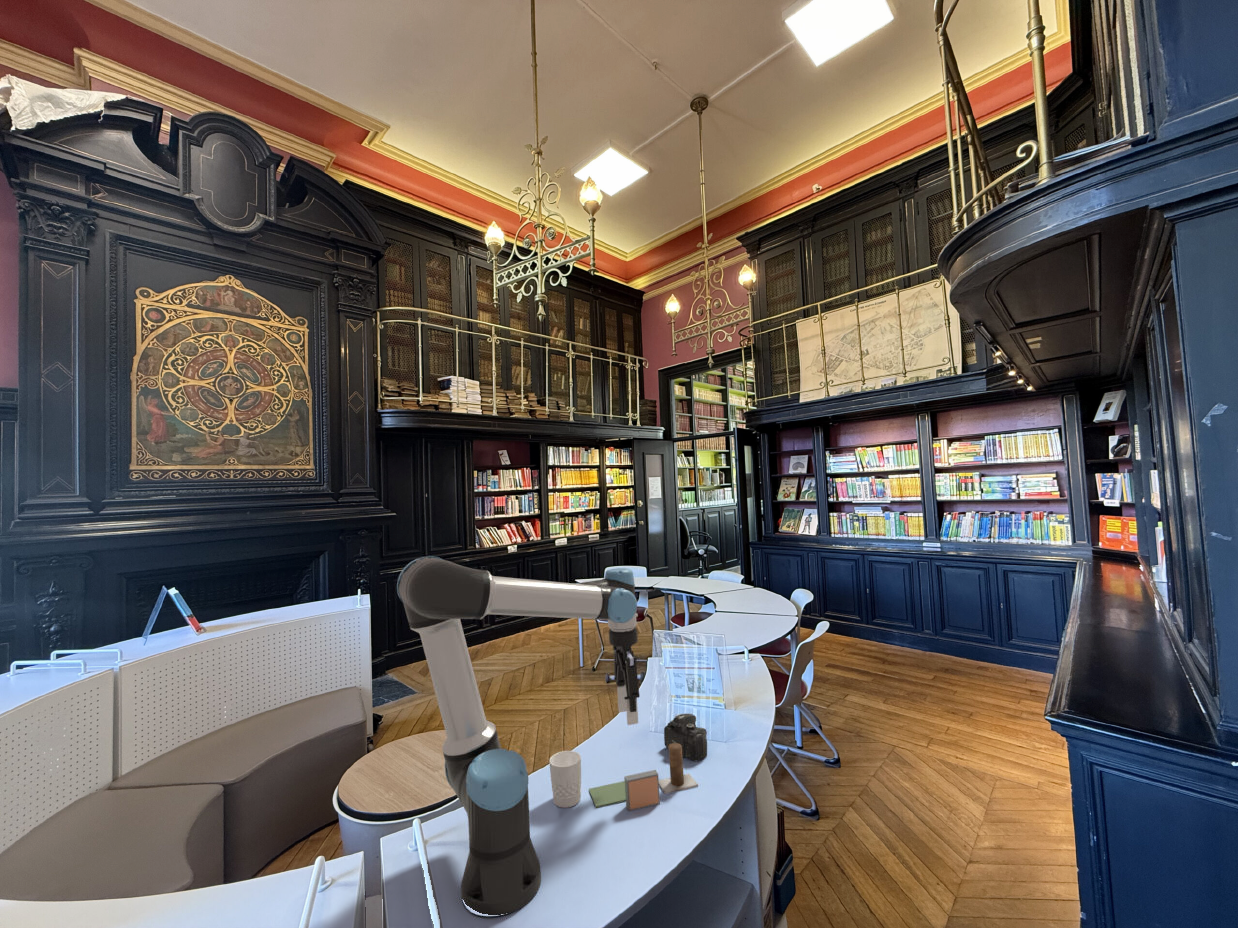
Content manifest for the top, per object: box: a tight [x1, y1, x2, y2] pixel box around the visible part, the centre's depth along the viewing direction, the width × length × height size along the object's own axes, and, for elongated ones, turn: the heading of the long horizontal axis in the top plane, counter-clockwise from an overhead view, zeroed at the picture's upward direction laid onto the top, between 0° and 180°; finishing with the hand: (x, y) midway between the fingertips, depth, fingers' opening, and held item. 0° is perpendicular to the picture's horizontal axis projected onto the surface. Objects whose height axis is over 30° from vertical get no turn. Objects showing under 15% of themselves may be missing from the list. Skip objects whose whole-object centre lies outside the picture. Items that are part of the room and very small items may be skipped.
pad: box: [588, 780, 626, 809], centre depth 128 cm, size 10×8×1 cm
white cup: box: [548, 750, 582, 809], centre depth 127 cm, size 8×8×10 cm
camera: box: [663, 713, 708, 762], centre depth 148 cm, size 13×10×10 cm
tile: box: [623, 769, 661, 812], centre depth 123 cm, size 8×2×7 cm, turn 106°
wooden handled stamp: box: [659, 743, 699, 795], centre depth 131 cm, size 9×6×10 cm, turn 106°
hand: (628, 716), depth 132 cm, fingers open, 8 cm apart
